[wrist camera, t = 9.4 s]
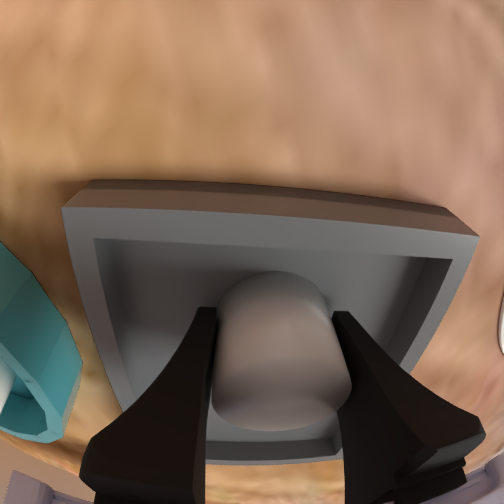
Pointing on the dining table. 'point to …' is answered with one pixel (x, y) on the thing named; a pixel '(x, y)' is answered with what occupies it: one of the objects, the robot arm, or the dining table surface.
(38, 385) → the bowl
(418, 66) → the dining table surface
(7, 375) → the stone
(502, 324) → the ceiling medallion
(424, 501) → the robot arm
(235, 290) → the stone
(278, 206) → the tray
